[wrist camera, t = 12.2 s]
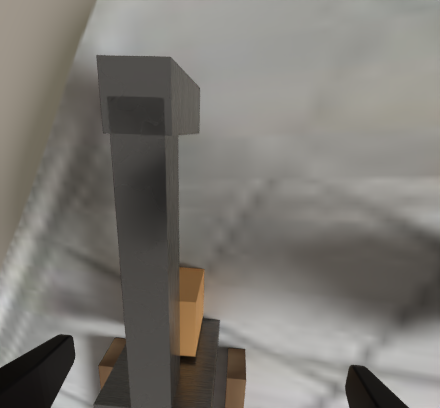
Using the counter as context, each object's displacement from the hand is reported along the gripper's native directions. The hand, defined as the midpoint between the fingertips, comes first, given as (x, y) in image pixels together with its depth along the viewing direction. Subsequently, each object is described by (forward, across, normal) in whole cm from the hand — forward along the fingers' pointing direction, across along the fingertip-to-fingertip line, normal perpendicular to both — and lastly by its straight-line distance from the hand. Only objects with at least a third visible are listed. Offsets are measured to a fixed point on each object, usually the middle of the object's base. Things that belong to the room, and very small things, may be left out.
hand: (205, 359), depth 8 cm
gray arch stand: (+12, +4, +1) cm, 13 cm away
